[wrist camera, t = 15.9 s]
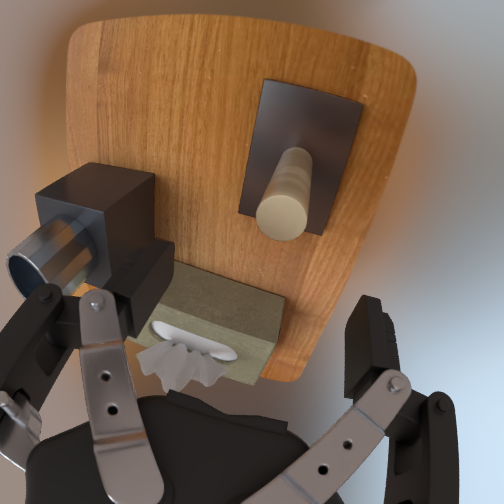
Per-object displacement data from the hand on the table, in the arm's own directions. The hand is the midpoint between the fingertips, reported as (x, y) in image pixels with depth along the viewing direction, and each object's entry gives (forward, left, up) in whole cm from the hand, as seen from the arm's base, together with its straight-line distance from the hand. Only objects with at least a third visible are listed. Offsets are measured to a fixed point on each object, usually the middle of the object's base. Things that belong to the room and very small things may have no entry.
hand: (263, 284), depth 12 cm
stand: (+19, -12, -20) cm, 30 cm away
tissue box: (+22, +6, -20) cm, 30 cm away
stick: (0, 0, -18) cm, 18 cm away
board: (0, 0, -20) cm, 20 cm away
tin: (+19, -12, -10) cm, 24 cm away
